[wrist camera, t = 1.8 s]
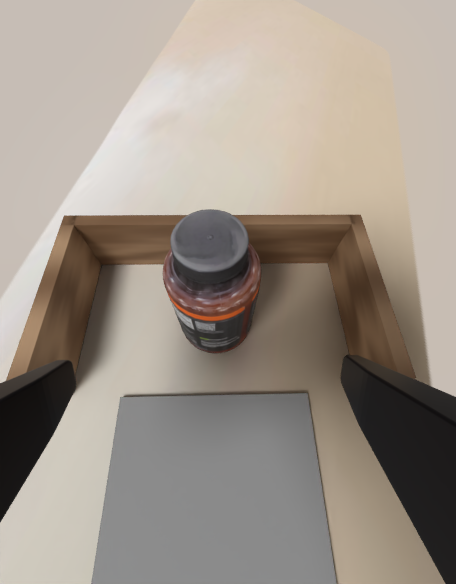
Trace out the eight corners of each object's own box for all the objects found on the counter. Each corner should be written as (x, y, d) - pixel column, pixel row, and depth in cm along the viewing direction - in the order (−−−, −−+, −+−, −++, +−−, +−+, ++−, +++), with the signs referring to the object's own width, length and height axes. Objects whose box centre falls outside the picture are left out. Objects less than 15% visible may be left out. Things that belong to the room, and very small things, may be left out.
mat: (348, 677, 14) (351, 683, 14) (77, 690, 14) (73, 697, 13) (306, 393, 21) (307, 393, 20) (122, 397, 20) (120, 397, 20)
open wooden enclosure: (371, 391, 21) (416, 377, 16) (56, 397, 20) (4, 385, 15) (335, 254, 27) (360, 214, 22) (93, 256, 26) (64, 215, 22)
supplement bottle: (234, 283, 25) (242, 183, 15) (261, 339, 23) (292, 264, 13) (173, 304, 24) (138, 211, 14) (194, 366, 22) (170, 306, 12)
